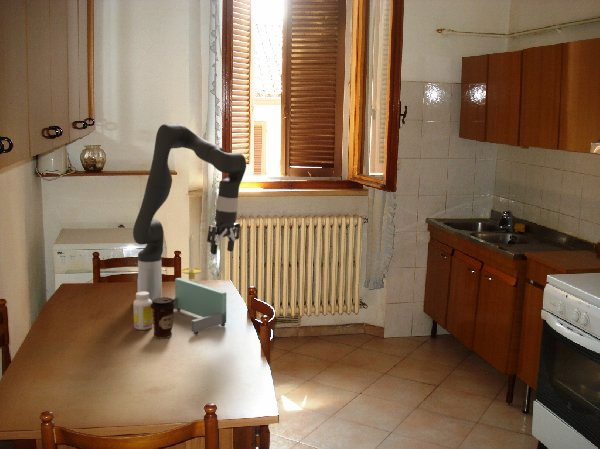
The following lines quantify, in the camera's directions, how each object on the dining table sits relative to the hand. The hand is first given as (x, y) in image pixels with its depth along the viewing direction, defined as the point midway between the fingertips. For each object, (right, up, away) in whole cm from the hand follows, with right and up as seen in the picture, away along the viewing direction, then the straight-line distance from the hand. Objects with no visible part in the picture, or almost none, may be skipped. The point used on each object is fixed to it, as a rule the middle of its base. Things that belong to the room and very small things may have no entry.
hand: (221, 252), depth 247 cm
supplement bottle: (-29, -27, +1) cm, 40 cm away
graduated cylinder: (-18, -19, +45) cm, 52 cm away
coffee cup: (-20, -29, -7) cm, 36 cm away
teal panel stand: (-14, -26, +7) cm, 31 cm away
